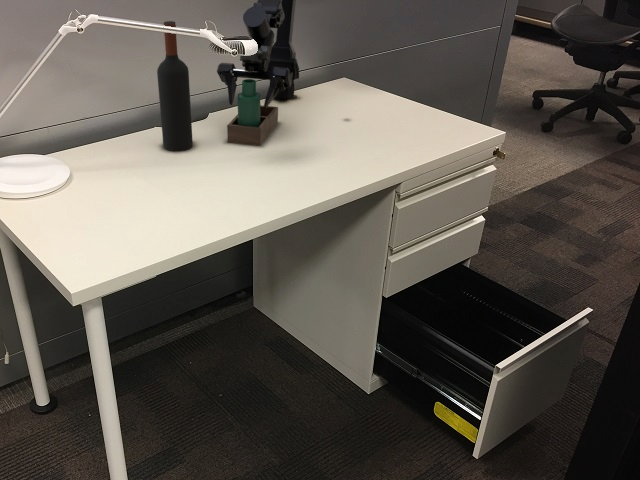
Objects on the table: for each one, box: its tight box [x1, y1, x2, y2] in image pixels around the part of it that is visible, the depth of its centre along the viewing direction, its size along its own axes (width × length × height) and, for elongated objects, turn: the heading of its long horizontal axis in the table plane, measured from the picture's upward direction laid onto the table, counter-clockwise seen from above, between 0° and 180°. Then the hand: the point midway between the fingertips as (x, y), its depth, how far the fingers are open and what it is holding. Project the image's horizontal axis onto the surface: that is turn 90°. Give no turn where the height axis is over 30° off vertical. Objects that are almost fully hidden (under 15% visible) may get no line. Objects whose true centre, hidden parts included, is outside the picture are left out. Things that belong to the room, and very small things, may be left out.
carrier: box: [226, 104, 279, 147], centre depth 178 cm, size 17×9×5 cm, turn 162°
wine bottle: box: [156, 20, 194, 153], centre depth 163 cm, size 8×8×30 cm
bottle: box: [237, 78, 262, 127], centre depth 171 cm, size 6×6×14 cm
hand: (247, 105), depth 170 cm, fingers open, 9 cm apart
